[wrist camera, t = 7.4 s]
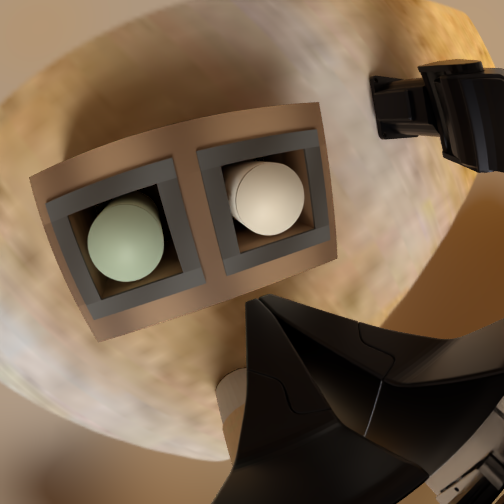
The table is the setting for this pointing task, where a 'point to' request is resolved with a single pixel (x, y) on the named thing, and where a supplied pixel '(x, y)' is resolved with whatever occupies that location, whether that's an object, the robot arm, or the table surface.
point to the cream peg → (263, 195)
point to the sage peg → (127, 238)
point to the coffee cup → (232, 407)
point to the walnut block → (189, 214)
